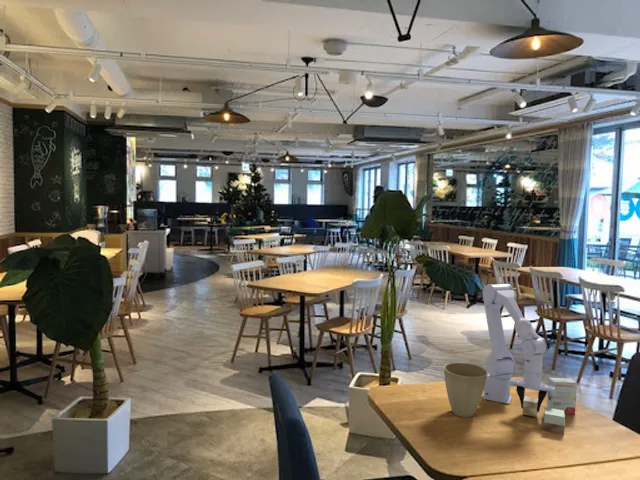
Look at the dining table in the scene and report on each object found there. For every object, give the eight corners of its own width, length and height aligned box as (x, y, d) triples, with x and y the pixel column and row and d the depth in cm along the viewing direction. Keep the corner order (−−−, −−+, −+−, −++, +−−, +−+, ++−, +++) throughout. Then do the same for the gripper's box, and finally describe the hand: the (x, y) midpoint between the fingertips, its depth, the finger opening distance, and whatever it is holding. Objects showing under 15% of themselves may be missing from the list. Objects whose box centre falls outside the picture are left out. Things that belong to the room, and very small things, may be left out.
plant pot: (438, 417, 177) (440, 372, 176) (445, 401, 191) (447, 360, 189) (483, 425, 171) (486, 379, 170) (486, 409, 185) (489, 366, 184)
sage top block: (544, 422, 169) (544, 413, 169) (543, 415, 175) (544, 407, 174) (564, 426, 167) (564, 417, 167) (563, 419, 172) (563, 410, 172)
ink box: (570, 409, 187) (572, 378, 186) (575, 414, 182) (577, 382, 181) (545, 407, 188) (548, 376, 187) (550, 413, 183) (552, 381, 182)
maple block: (522, 413, 180) (523, 400, 180) (524, 409, 184) (525, 396, 183) (536, 416, 178) (537, 403, 177) (537, 412, 182) (538, 398, 181)
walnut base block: (540, 430, 170) (541, 421, 170) (542, 422, 176) (542, 414, 176) (563, 435, 167) (564, 426, 166) (564, 427, 173) (565, 418, 172)
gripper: (509, 371, 180) (507, 408, 181) (554, 379, 173) (551, 417, 174) (512, 365, 186) (510, 401, 187) (555, 373, 179) (553, 410, 180)
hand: (530, 409), depth 181 cm, fingers closed on maple block, 4 cm apart
